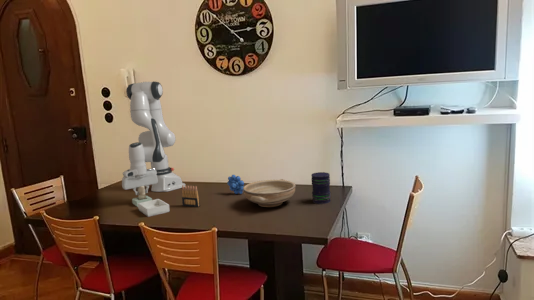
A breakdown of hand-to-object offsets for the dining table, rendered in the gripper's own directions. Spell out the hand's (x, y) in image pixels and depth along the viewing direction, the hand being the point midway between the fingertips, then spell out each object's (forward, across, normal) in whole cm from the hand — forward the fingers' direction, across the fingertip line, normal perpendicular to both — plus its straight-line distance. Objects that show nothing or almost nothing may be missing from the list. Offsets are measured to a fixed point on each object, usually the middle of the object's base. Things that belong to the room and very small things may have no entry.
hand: (141, 193), depth 245 cm
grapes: (+6, -49, +25) cm, 55 cm away
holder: (+6, 0, 0) cm, 6 cm away
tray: (+6, 0, +20) cm, 21 cm away
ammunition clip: (+6, -19, +27) cm, 34 cm away
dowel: (+5, 0, 0) cm, 5 cm away
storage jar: (+6, -74, +74) cm, 105 cm away
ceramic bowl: (+6, -52, +56) cm, 77 cm away
